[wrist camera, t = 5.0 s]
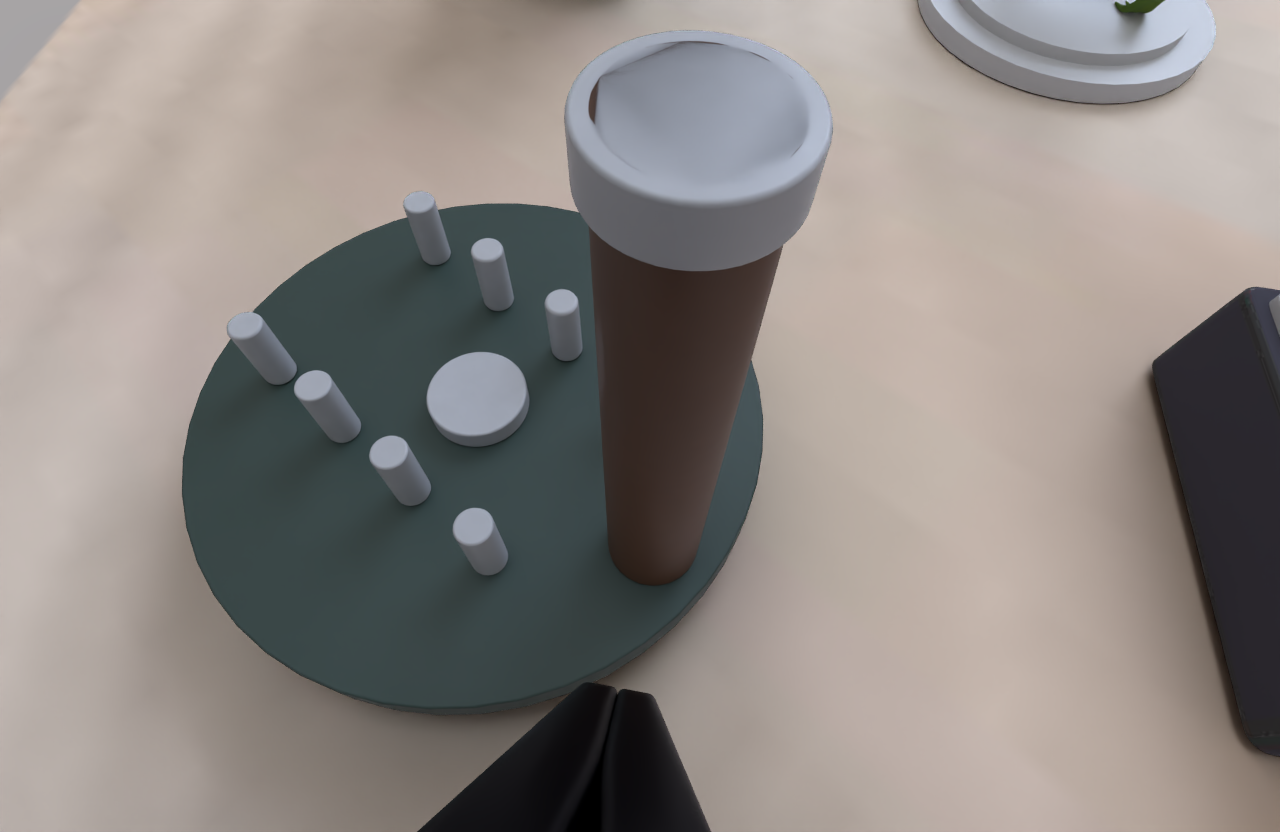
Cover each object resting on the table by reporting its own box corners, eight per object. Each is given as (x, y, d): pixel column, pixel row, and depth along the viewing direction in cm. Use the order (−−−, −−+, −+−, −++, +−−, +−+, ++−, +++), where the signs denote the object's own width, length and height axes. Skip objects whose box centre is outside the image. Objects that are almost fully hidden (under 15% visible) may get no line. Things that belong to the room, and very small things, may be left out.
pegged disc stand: (90, 452, 17) (-711, -85, 7) (493, 163, 23) (382, -380, 12) (479, 878, 13) (-84, 1147, 3) (859, 398, 19) (1158, -127, 8)
